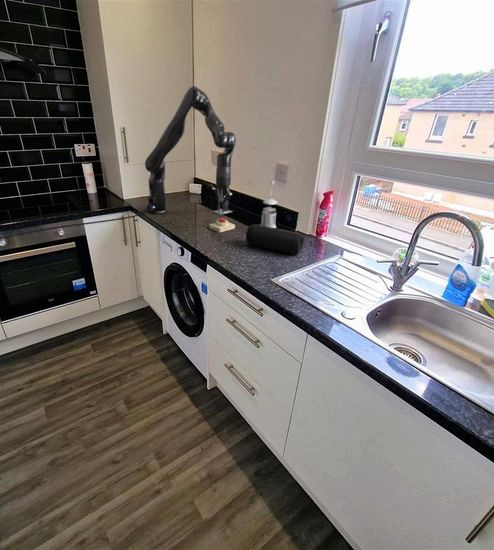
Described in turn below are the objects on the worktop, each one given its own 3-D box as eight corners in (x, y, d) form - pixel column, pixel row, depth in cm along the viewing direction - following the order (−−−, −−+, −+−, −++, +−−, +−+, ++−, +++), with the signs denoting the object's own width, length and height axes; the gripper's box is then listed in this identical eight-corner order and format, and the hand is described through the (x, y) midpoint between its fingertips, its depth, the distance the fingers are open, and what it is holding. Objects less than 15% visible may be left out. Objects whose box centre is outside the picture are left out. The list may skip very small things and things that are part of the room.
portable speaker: (302, 251, 144) (305, 231, 139) (296, 258, 136) (299, 237, 132) (252, 240, 155) (254, 221, 150) (244, 246, 147) (245, 226, 142)
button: (221, 223, 165) (222, 220, 164) (217, 221, 167) (217, 218, 166) (226, 222, 167) (227, 219, 166) (222, 220, 169) (222, 217, 168)
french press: (277, 224, 178) (282, 180, 166) (274, 230, 168) (280, 184, 156) (260, 222, 180) (264, 178, 168) (257, 228, 170) (261, 182, 158)
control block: (219, 232, 163) (219, 225, 161) (209, 228, 168) (209, 221, 167) (234, 228, 169) (235, 221, 167) (224, 224, 175) (224, 217, 173)
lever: (209, 188, 177) (211, 183, 177) (205, 187, 179) (207, 182, 179) (225, 197, 188) (227, 193, 188) (222, 196, 190) (224, 192, 190)
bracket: (221, 216, 188) (221, 193, 182) (212, 213, 193) (213, 190, 187) (232, 213, 194) (234, 191, 188) (224, 210, 199) (225, 188, 193)
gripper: (209, 173, 157) (208, 206, 165) (226, 178, 149) (225, 213, 157) (220, 172, 162) (219, 204, 170) (237, 176, 153) (235, 210, 161)
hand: (222, 208), depth 163 cm, fingers closed
